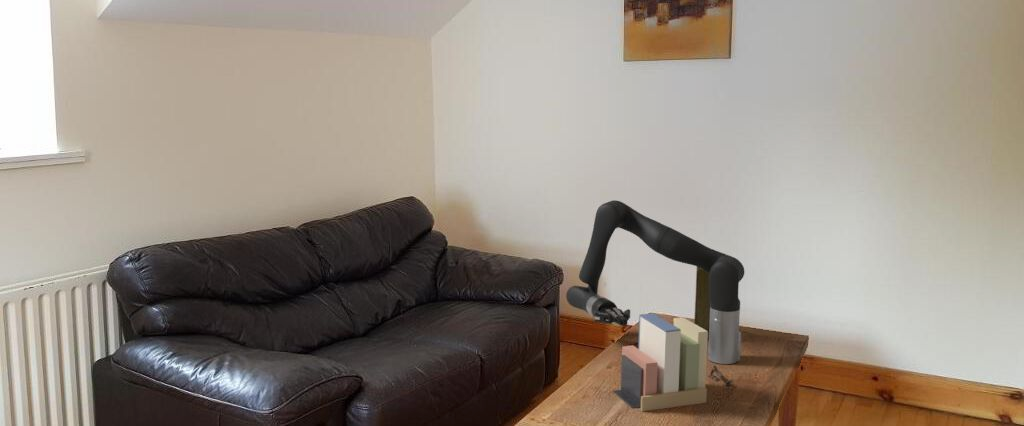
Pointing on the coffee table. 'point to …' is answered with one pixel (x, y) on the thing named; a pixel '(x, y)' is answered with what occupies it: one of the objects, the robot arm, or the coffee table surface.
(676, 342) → the blue book
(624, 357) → the bookend
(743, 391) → the coffee table surface
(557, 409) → the coffee table surface
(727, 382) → the brown irregular piece
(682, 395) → the book rack
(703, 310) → the book
